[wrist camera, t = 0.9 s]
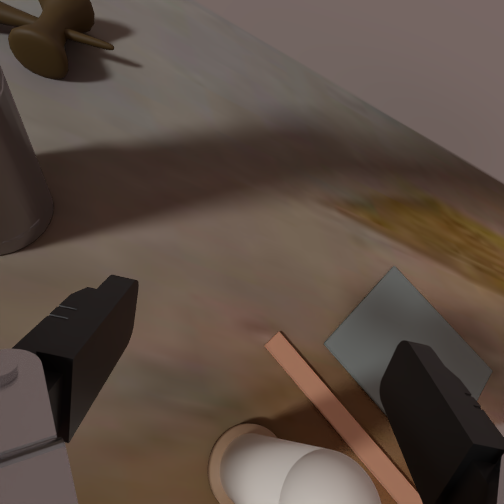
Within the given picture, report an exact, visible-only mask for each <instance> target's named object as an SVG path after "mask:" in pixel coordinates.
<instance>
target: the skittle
mask: <svg viewBox="0 0 504 504" xmlns="http://www.w3.org/2000/svg"><path fill="white" fill-rule="evenodd" d="M208 479H209V484H210V487H211V490H212V492H213V494H214V496H215V498H216V499H217V500H218V502H219V503H220V504H381V501H380V498H379V495H378V492H377V490H376V488H375V486H374V484H373V482H372V480H371V479H370V477H369V476H368V474H367V473H366V472H365V470H364V469H363V468H362V467H361V466H360V465H359V464H358V463H357V462H355V461H354V460H353V459H352V458H350V457H348V456H347V455H345V454H343V453H341V452H338V451H335V450H331V449H326V448H321V447H317V446H312V445H307V444H302V443H298V442H293V441H288V440H283V439H278V438H277V437H276V436H275V434H274V433H273V432H271V431H270V430H269V429H267V428H265V427H263V426H261V425H257V424H250V423H243V424H238V425H235V426H233V427H231V428H229V429H228V430H226V431H225V432H224V433H223V434H222V435H221V436H220V437H219V438H218V440H217V441H216V443H215V444H214V446H213V448H212V451H211V453H210V457H209V462H208Z"/></svg>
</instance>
